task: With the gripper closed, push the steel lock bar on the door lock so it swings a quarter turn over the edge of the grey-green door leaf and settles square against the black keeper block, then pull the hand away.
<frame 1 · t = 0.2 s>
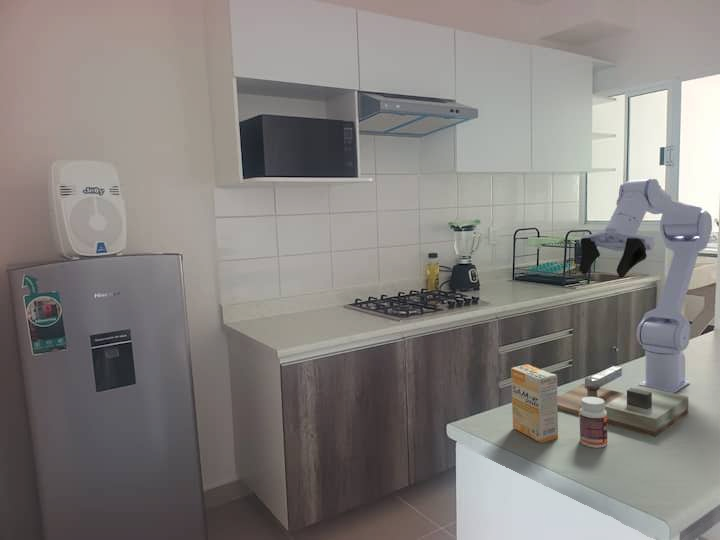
hand: (600, 272, 103), 31 cm above the counter, tool tilted 45°, fingers open, 7 cm apart
supplement box: (534, 434, 102), on the counter
door lock: (619, 408, 112), on the counter
lock bar: (603, 377, 117), point 5 cm above the counter, hinge at 180.0°
pill bottle: (593, 443, 97), on the counter
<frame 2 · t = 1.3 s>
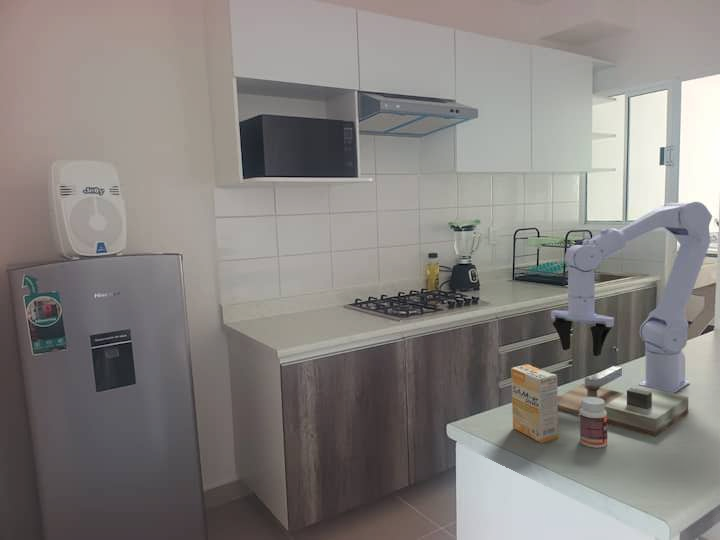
hand: (581, 352, 122), 10 cm above the counter, tool pointing down, fingers open, 7 cm apart
nothing on the counter moved.
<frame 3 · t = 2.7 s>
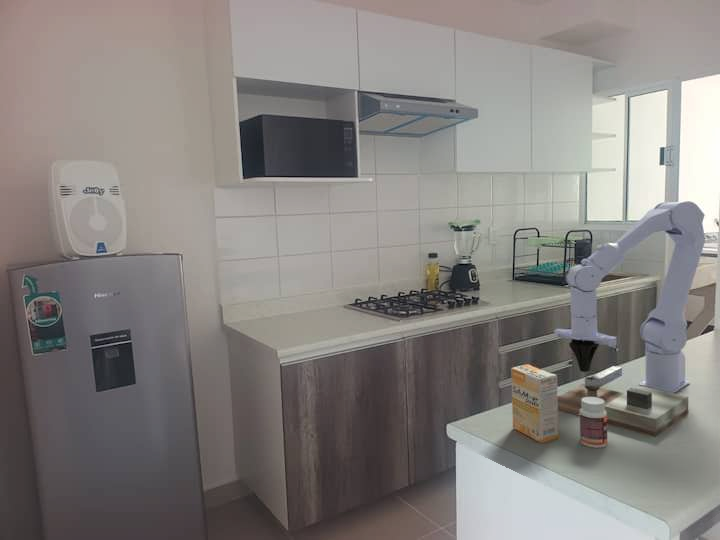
hand: (584, 370, 123), 5 cm above the counter, tool pointing down, fingers closed
nothing on the counter moved.
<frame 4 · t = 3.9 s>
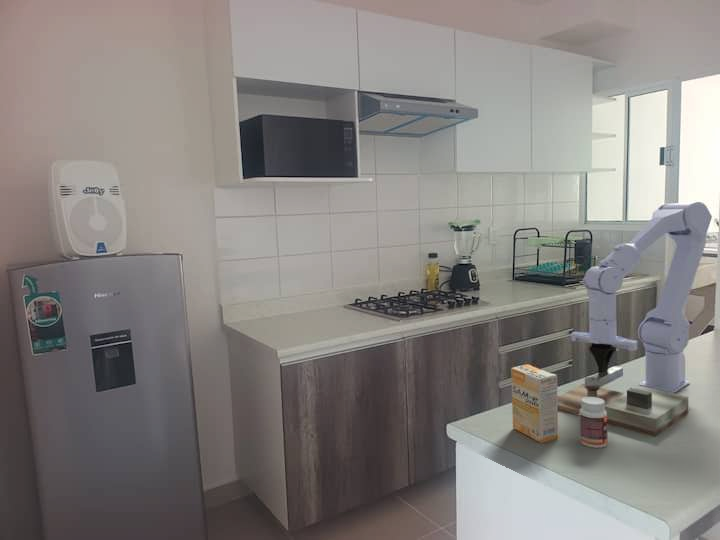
hand: (603, 375, 119), 5 cm above the counter, tool pointing down, fingers closed, pressing on lock bar
lock bar: (604, 377, 117), point 5 cm above the counter, hinge at 178.9°, touching gripper
everything else where it was.
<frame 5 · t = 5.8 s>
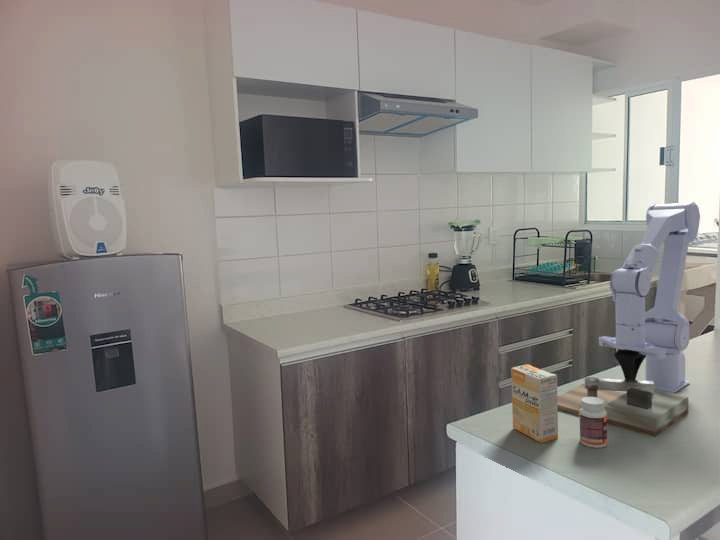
hand: (630, 383, 113), 5 cm above the counter, tool pointing down, fingers closed, pressing on lock bar
lock bar: (618, 385, 112), point 5 cm above the counter, hinge at 120.9°, touching gripper
everything else where it was.
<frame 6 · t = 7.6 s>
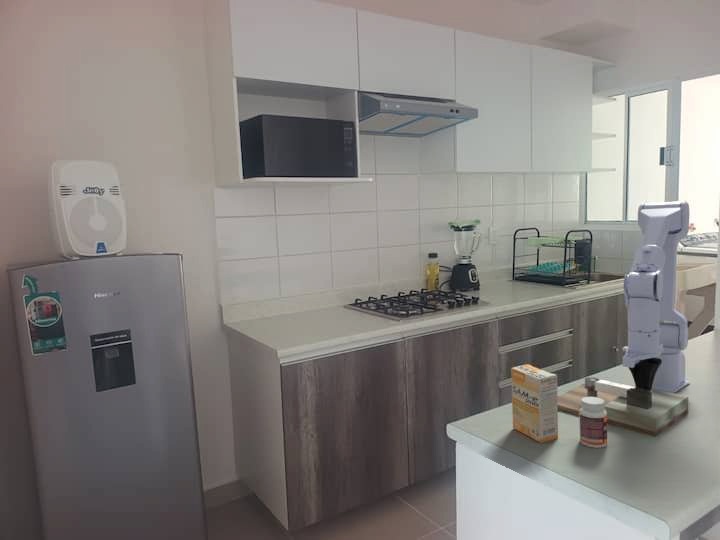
hand: (643, 392, 107), 5 cm above the counter, tool pointing down, fingers closed
lock bar: (616, 389, 110), point 5 cm above the counter, hinge at 90.7°
everything else where it was.
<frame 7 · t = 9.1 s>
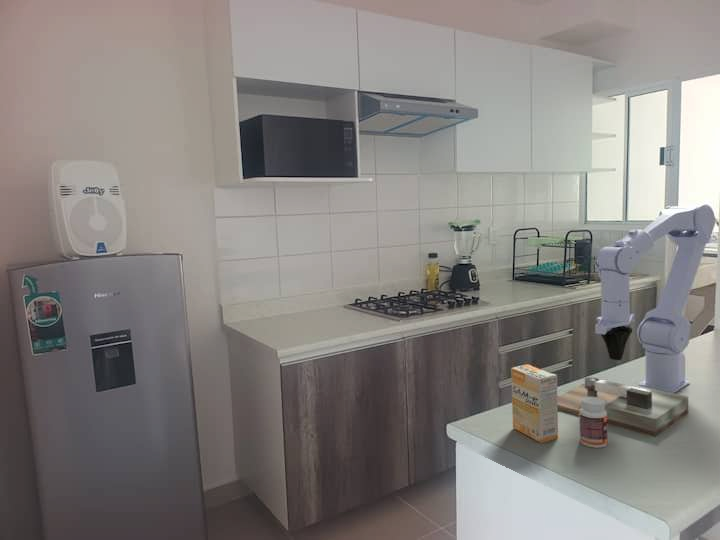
hand: (615, 359, 116), 9 cm above the counter, tool pointing down, fingers closed
nothing on the counter moved.
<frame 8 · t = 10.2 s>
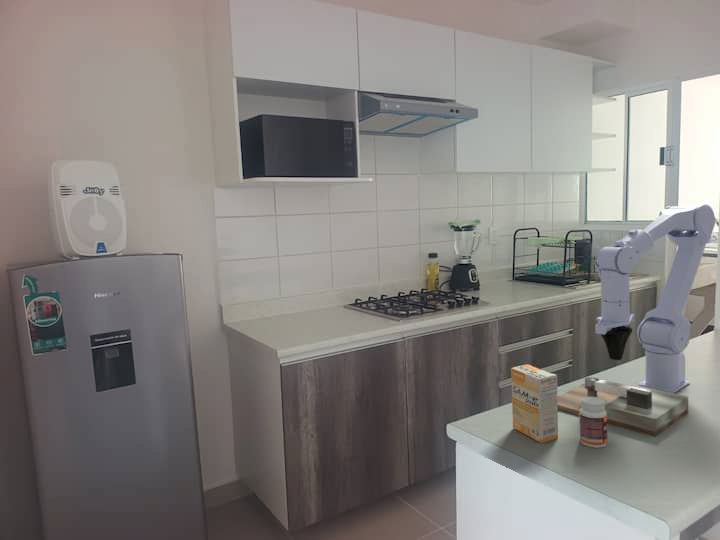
hand: (615, 359, 116), 9 cm above the counter, tool pointing down, fingers closed
nothing on the counter moved.
at the end: lock bar at +91° (first picture: +180°); pill bottle moved 0.2 cm from its start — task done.
